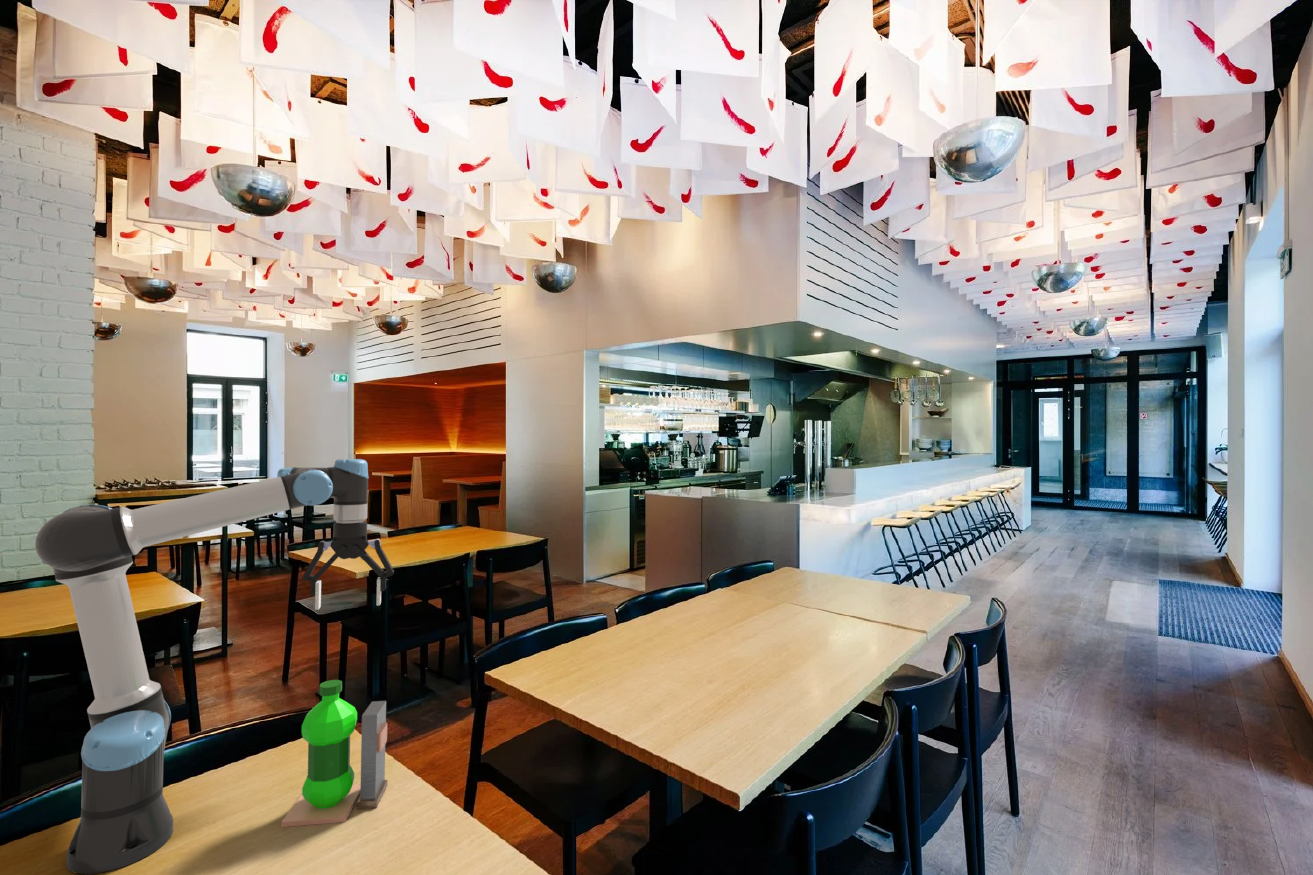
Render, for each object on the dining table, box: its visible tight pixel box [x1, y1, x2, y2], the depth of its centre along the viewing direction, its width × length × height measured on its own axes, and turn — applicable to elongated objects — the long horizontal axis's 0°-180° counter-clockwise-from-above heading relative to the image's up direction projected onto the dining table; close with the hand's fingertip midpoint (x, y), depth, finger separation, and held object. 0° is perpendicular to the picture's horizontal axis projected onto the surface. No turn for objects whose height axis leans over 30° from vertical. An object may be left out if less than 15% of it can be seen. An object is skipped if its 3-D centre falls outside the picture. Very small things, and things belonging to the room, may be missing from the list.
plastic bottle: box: [301, 679, 358, 809], centre depth 127 cm, size 10×10×25 cm
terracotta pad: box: [280, 783, 361, 828], centre depth 127 cm, size 12×12×1 cm
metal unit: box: [356, 700, 389, 810], centre depth 131 cm, size 4×8×20 cm, turn 10°
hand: (348, 606), depth 149 cm, fingers open, 13 cm apart
